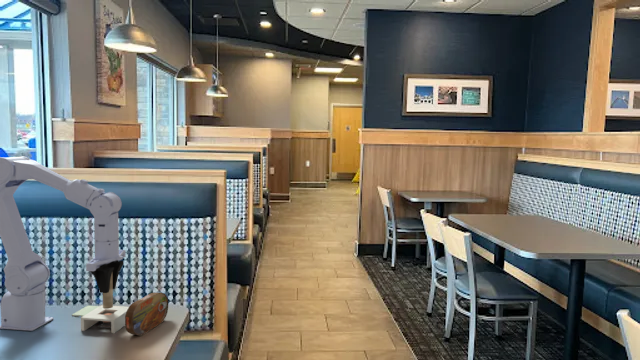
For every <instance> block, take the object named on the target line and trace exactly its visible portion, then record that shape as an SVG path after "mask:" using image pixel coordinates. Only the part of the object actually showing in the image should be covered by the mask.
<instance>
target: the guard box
mask: <svg viewBox="0 0 640 360" xmlns="http://www.w3.org/2000/svg"><path fill="white" fill-rule="evenodd" d="M128 308H129V306H123V305H113V307H112V308H108V309H104V308H103V304H101V305H99V307H98V308H96V309H94V310H93V311H91V312H89V313H88V314H86V315H84V316H83V317H80V331H81V332H85V331H86V330H88V329H89V328H91V327H93V325H96V324H97V323H99V322H102V321H110V322H107V323H105V322H102V323H101V324H100V325H99V326H98V328H106V329H107V328H109V329H110V330H111V334H115V333H117V332H118V331H119V330H121V329H122V328H123V327H126V326H125V315H126V312H127V310H128ZM107 313H112V314H111V315H104V314H107Z"/></svg>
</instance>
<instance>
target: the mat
mask: <svg viewBox="0 0 640 360" xmlns="http://www.w3.org/2000/svg"><path fill="white" fill-rule="evenodd" d="M99 306H100V305H99ZM99 306H98V305H85V307H83V308H81V309H79V310H77V311H76V312H74V313H72V314H71V316H72V317H79V316H81V317H83V316H84V315H86V314H88V313H89V312H91V311H93V310H94V309H96V308H98V307H99ZM81 317H80V318H81Z"/></svg>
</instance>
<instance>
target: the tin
mask: <svg viewBox="0 0 640 360" xmlns="http://www.w3.org/2000/svg"><path fill="white" fill-rule="evenodd" d="M128 307H129V308H128V310H127V312H126V315H125V326H124V327H125V330H126V332H128V333H129V334H130V335H135V336H143V335H145V334H146V333H148V332H150V331H151V330H153V329H154V328H155V327H157V326H159V325H160V324H162V323H163V322H164V321H165V319H166V317H167V314H168V311H169V299H168V297H167V294H165V293H164V292H161V291H160V292H151V293H149V294H147V295H145V296H144V297H142V298H140V299H138V300H136V301H134V302H132V303H131V304H130V305H129V306H128Z"/></svg>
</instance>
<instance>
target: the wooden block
mask: <svg viewBox="0 0 640 360" xmlns="http://www.w3.org/2000/svg"><path fill="white" fill-rule="evenodd" d="M102 305H103V308H104V309H108V308H112V307H113V306H114V289H113V272H112V274H111V279H110V289H109V292H108V293H102Z"/></svg>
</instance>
